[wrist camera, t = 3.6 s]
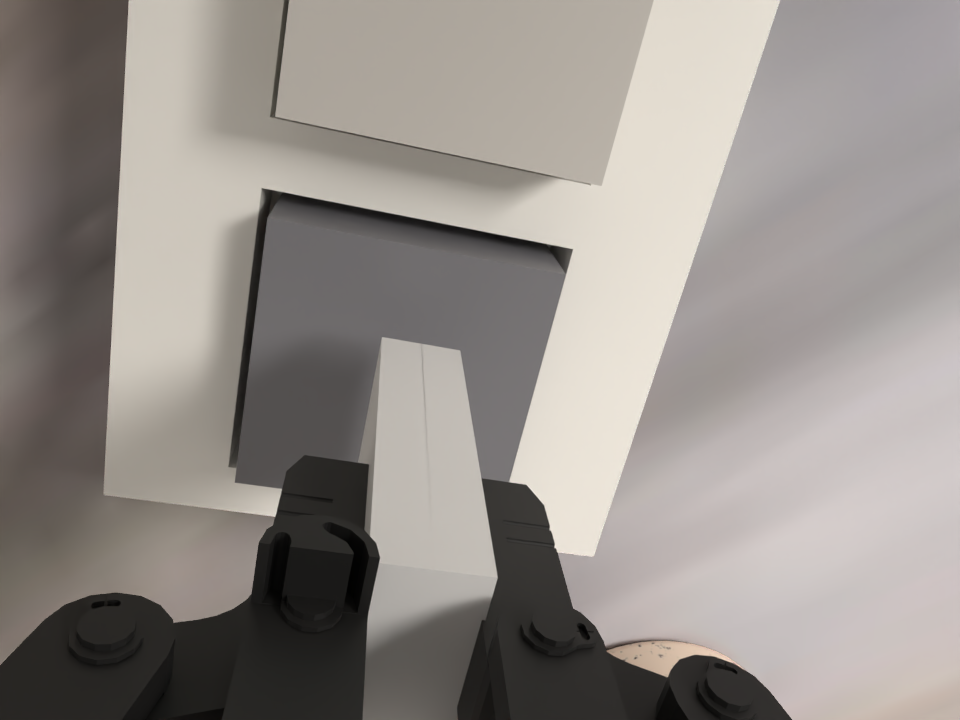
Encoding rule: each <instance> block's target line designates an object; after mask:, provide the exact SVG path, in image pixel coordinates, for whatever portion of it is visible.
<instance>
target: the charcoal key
mask: <svg viewBox="0 0 960 720" xmlns="http://www.w3.org/2000/svg"><path fill="white" fill-rule="evenodd" d="M565 277H566V274H565V272H564V271H563V269H562V268H561V266H560V265H559V263H558V261H557V260H556V258H555V257H554V255H553V254H552V252H551V251H550V249H549V247H548V246H547V244H544V243H539V242H534V241H529V240H524V239H519V238H514V237H509V236H504V235H499V234H493V233H488V232H483V231H478V230H473V229H468V228H463V227H458V226H453V225H448V224H442V223H437V222H432V221H427V220H422V219H417V218H412V217H407V216H402V215H397V214H392V213H386V212H381V211H376V210H371V209H366V208H361V207H356V206H351V205H346V204H341V203H336V202H330V201H325V200H320V199H315V198H310V197H305V196H300V195H295V194H290V193H285V192H282V194H281V196H280V197H279V199H278V201H277V203H276V204H275V206H274V208H273V209H272V211H271V213H270V214H269V216H268V218H267V225H266V233H265V241H264V250H263V258H262V266H261V274H260V282H259V290H258V298H257V306H256V314H255V322H254V330H253V339H252V347H251V355H250V363H249V371H248V379H247V387H246V395H245V403H244V411H243V419H242V427H241V436H240V444H239V452H238V460H237V468H236V476H235V483H241V484H249V485H256V486H264V487H271V488H279V489H282V487H283V483H284V479H285V475H286V471H287V470H288V469H289V468H291V467H292V466H293V465H294V464H295V463H296V462H297V461H298V460H299V459H301V458H302V457H303V456H304V455H308V456H315V457H322V458H329V459H336V460H343V461H350V462H357V463H358V460H359V455H360V449H361V444H362V439H363V434H364V428H365V423H366V418H367V413H368V407H369V402H370V397H371V392H372V386H373V381H374V376H375V371H376V365H377V360H378V355H379V350H380V344H381V339H382V337H385V338H391V339H397V340H403V341H408V342H414V343H420V344H426V345H432V346H437V347H443V348H449V349H455V350H460V352H461V358H462V364H463V370H464V376H465V382H466V388H467V394H468V400H469V406H470V412H471V419H472V425H473V431H474V437H475V443H476V449H477V455H478V461H479V467H480V473H481V478H483V479H490V480H497V481H504V482H509V480H510V477H511V473H512V469H513V466H514V462H515V458H516V455H517V451H518V447H519V444H520V440H521V437H522V433H523V429H524V426H525V422H526V418H527V415H528V411H529V407H530V404H531V400H532V397H533V393H534V389H535V386H536V382H537V378H538V375H539V371H540V367H541V364H542V360H543V357H544V353H545V349H546V346H547V342H548V338H549V335H550V331H551V327H552V324H553V320H554V317H555V313H556V309H557V306H558V302H559V298H560V295H561V291H562V288H563V284H564V280H565Z"/></svg>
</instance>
